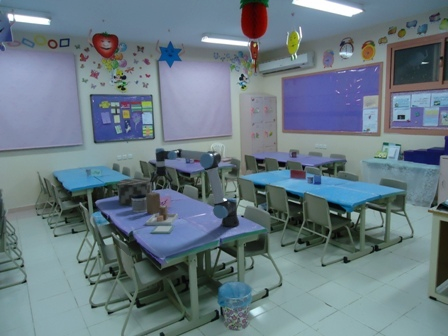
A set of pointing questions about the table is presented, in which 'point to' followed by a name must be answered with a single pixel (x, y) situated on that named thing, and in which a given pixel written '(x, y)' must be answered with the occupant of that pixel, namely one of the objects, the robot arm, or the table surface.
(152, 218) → the tray
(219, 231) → the table surface
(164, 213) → the walnut box
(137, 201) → the planter
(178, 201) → the table surface
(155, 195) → the wooden block
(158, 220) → the clay cube
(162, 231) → the board
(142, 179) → the storage box
